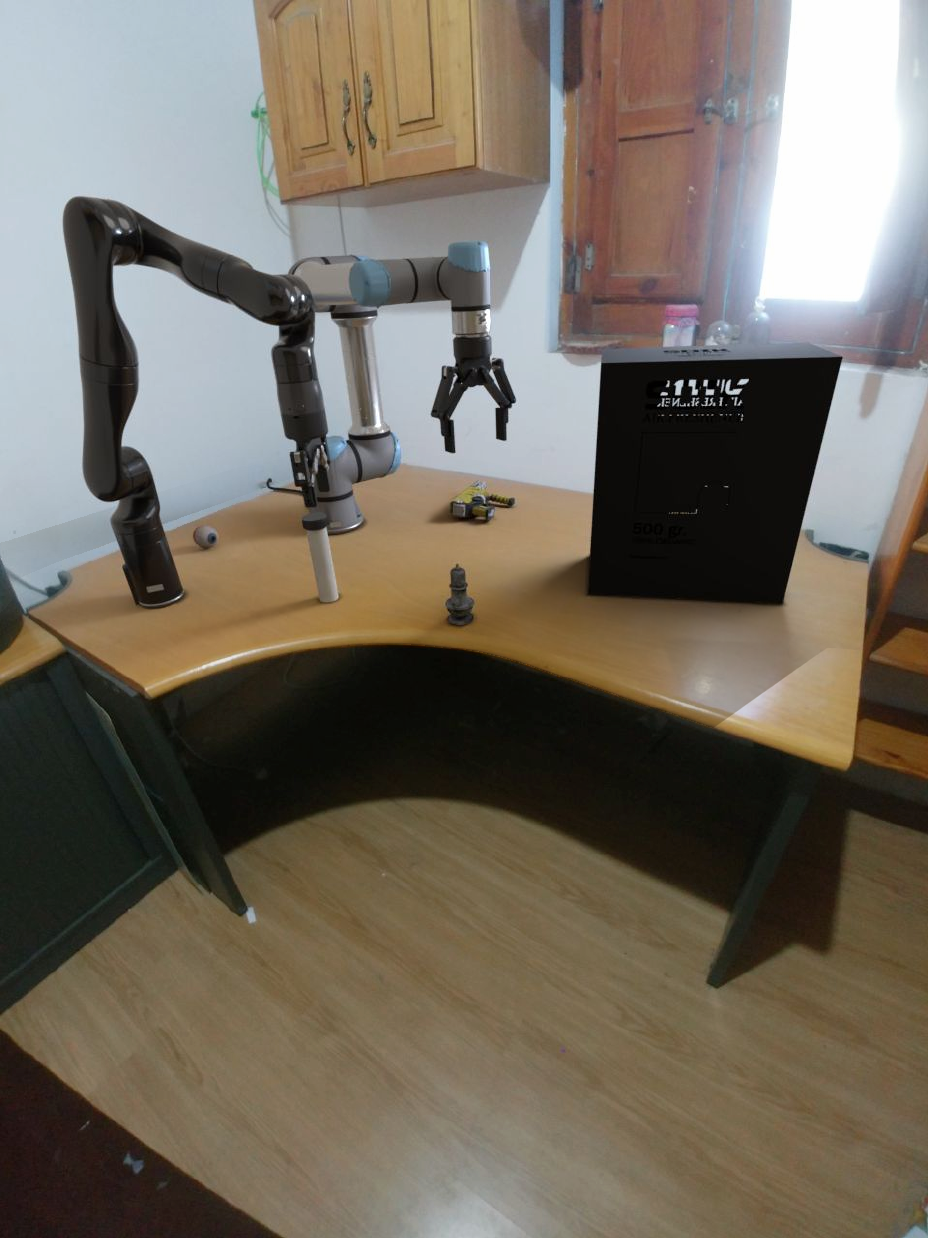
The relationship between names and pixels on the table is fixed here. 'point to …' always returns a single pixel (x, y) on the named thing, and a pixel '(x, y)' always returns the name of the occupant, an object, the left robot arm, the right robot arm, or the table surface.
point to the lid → (314, 521)
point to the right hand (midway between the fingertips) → (476, 445)
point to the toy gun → (477, 502)
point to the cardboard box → (705, 469)
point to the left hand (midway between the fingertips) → (318, 498)
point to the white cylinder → (323, 565)
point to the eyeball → (205, 536)
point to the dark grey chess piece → (459, 599)
